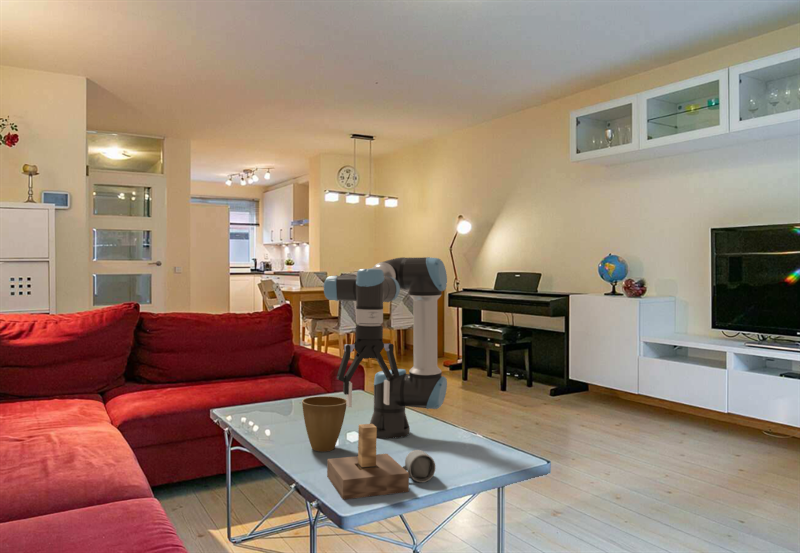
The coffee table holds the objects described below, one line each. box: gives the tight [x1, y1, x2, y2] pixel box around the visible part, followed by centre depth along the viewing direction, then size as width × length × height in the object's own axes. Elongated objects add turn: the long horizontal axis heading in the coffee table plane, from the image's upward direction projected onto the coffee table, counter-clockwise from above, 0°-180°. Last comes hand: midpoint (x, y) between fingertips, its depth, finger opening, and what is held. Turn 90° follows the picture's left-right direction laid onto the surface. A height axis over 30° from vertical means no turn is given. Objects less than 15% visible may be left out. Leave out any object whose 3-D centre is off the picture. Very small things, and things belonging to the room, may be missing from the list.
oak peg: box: [357, 423, 378, 470], centre depth 159 cm, size 4×4×15 cm
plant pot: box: [301, 395, 348, 452], centre depth 191 cm, size 15×15×16 cm
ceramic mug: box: [402, 449, 436, 483], centre depth 164 cm, size 11×8×8 cm
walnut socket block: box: [326, 453, 410, 500], centre depth 159 cm, size 18×18×5 cm
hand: (367, 405), depth 159 cm, fingers open, 10 cm apart
